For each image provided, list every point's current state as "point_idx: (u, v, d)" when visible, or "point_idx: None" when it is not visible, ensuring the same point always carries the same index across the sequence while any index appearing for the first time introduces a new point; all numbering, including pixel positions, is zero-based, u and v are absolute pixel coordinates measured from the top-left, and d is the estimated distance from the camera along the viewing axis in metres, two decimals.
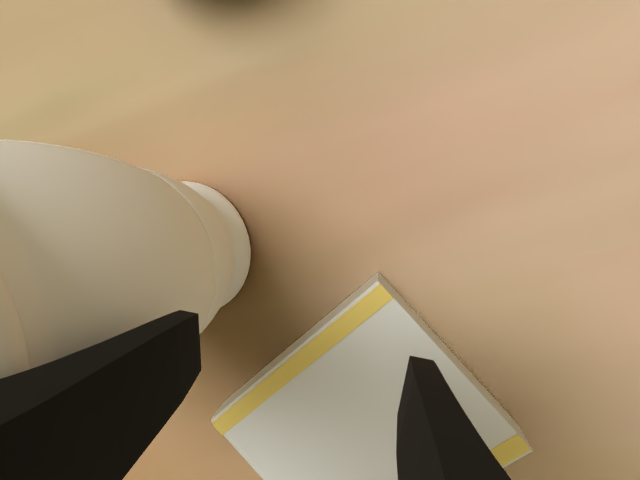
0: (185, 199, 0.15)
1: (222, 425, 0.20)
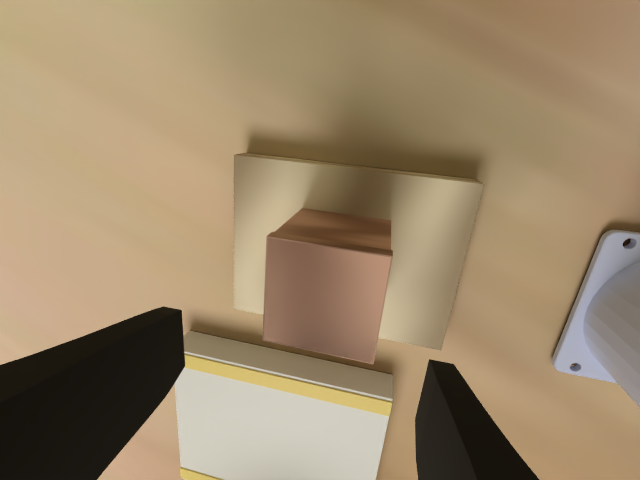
0: None
1: None
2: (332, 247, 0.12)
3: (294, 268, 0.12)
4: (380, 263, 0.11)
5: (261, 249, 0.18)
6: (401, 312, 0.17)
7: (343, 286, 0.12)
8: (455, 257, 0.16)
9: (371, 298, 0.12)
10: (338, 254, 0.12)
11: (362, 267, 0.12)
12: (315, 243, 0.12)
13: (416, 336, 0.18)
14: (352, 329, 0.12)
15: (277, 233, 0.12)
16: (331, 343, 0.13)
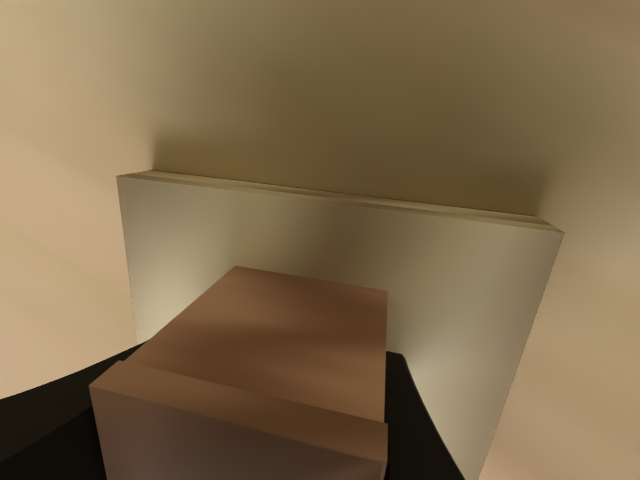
0: None
1: None
2: (237, 421, 0.05)
3: (160, 454, 0.05)
4: (356, 471, 0.04)
5: None
6: None
7: None
8: (502, 356, 0.09)
9: None
10: (252, 440, 0.05)
11: (311, 474, 0.05)
12: (201, 404, 0.05)
13: None
14: None
15: (129, 367, 0.06)
16: None
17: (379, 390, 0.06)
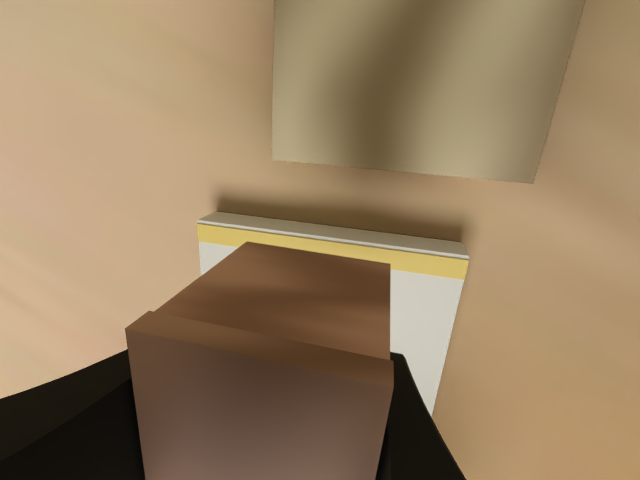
0: None
1: None
2: (260, 357, 0.05)
3: (188, 392, 0.06)
4: (366, 398, 0.05)
5: (307, 69, 0.15)
6: (484, 135, 0.14)
7: (290, 434, 0.06)
8: (560, 42, 0.12)
9: (347, 462, 0.06)
10: (274, 373, 0.05)
11: (326, 403, 0.05)
12: (227, 345, 0.06)
13: (502, 167, 0.14)
14: None
15: (159, 316, 0.06)
16: None
17: (385, 337, 0.06)
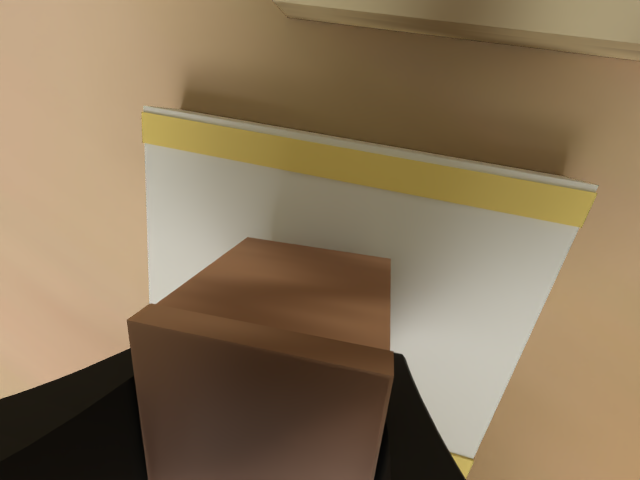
0: None
1: (459, 464, 0.13)
2: (261, 348, 0.05)
3: (189, 383, 0.06)
4: (366, 388, 0.05)
5: None
6: None
7: (291, 425, 0.06)
8: None
9: (348, 452, 0.06)
10: (274, 363, 0.05)
11: (326, 393, 0.05)
12: (228, 335, 0.06)
13: None
14: None
15: (161, 309, 0.06)
16: None
17: (385, 329, 0.06)
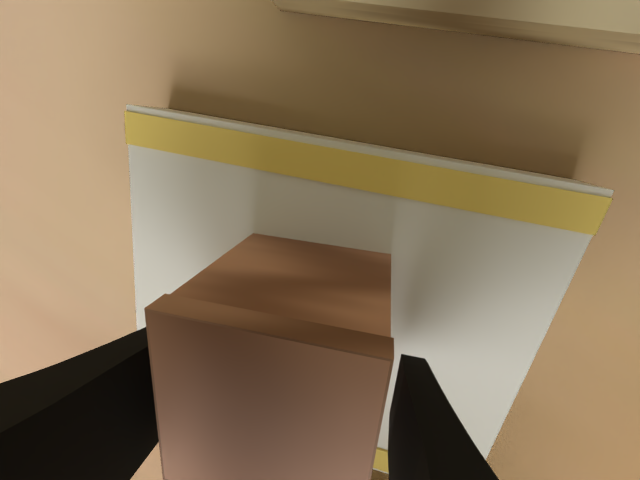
0: None
1: None
2: (270, 333, 0.06)
3: (202, 368, 0.06)
4: (368, 370, 0.05)
5: None
6: None
7: (297, 406, 0.06)
8: None
9: (351, 432, 0.06)
10: (282, 349, 0.06)
11: (330, 376, 0.06)
12: (239, 322, 0.06)
13: None
14: None
15: (174, 299, 0.07)
16: None
17: (386, 318, 0.07)
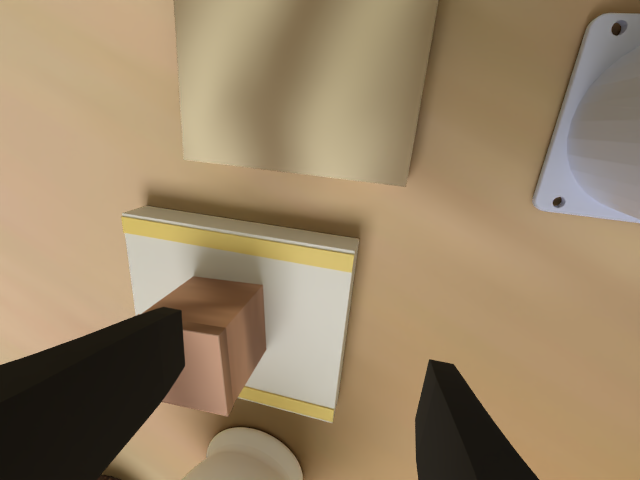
0: None
1: (327, 412, 0.21)
2: None
3: None
4: (211, 340, 0.14)
5: (207, 79, 0.16)
6: (360, 142, 0.15)
7: (191, 357, 0.15)
8: (417, 60, 0.14)
9: (212, 366, 0.15)
10: None
11: (200, 344, 0.14)
12: None
13: (378, 171, 0.16)
14: (205, 389, 0.15)
15: None
16: (194, 400, 0.16)
17: (230, 319, 0.15)
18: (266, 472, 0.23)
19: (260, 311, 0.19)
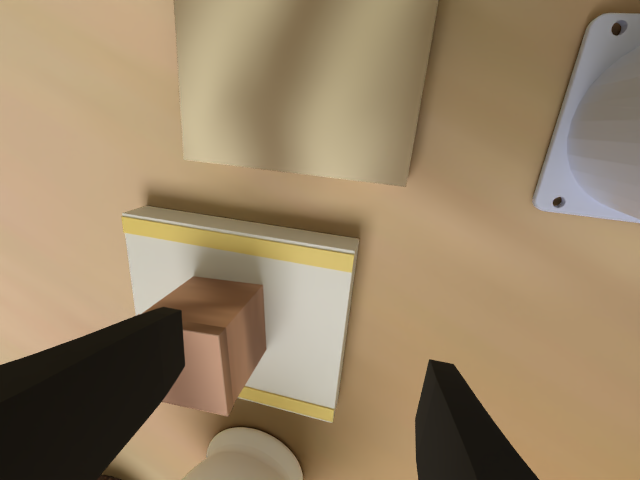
0: None
1: (327, 412, 0.21)
2: None
3: None
4: (212, 340, 0.14)
5: (207, 79, 0.16)
6: (360, 142, 0.15)
7: (191, 357, 0.15)
8: (417, 60, 0.14)
9: (212, 366, 0.15)
10: None
11: (200, 343, 0.15)
12: None
13: (378, 171, 0.16)
14: (206, 389, 0.15)
15: None
16: (194, 400, 0.16)
17: (230, 319, 0.15)
18: (266, 472, 0.23)
19: (260, 311, 0.19)
